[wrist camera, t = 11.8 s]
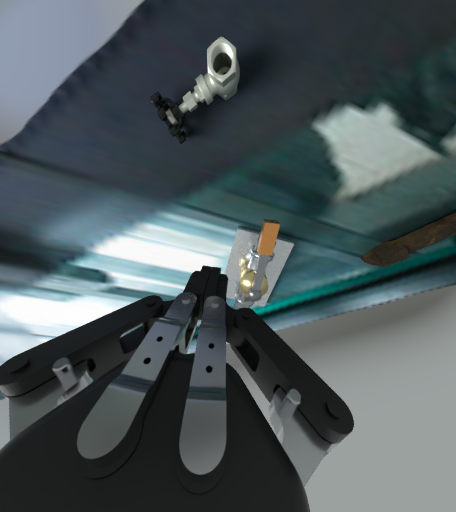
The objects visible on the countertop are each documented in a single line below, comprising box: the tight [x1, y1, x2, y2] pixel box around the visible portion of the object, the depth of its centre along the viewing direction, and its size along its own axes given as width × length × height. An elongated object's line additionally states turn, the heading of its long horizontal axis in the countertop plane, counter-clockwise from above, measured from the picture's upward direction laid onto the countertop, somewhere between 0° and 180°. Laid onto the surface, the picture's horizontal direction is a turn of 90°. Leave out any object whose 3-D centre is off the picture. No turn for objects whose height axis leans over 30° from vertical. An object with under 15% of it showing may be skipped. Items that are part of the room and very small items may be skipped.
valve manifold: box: [224, 227, 294, 310], centre depth 36 cm, size 12×18×8 cm, turn 166°
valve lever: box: [248, 219, 280, 301], centre depth 29 cm, size 15×2×2 cm, turn 174°
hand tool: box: [361, 212, 456, 267], centre depth 32 cm, size 19×4×5 cm, turn 122°
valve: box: [150, 37, 240, 144], centre depth 24 cm, size 7×7×12 cm
